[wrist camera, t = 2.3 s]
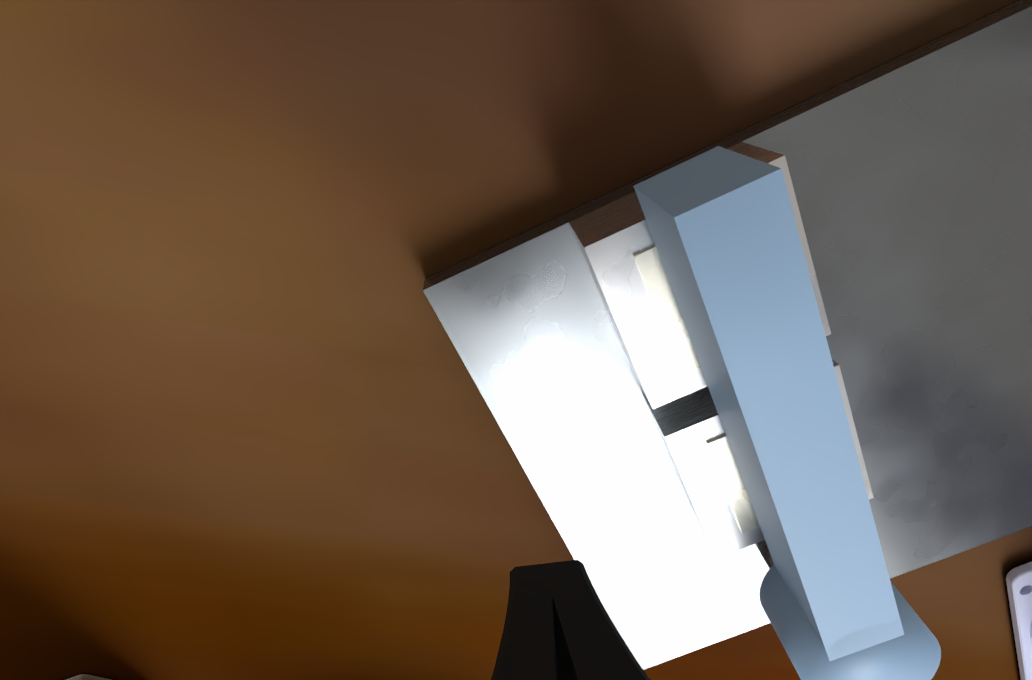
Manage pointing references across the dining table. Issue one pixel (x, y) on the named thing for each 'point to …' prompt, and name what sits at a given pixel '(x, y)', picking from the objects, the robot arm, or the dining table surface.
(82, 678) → the ceramic cup
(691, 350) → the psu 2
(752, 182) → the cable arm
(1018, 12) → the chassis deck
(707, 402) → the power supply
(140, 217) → the dining table surface
